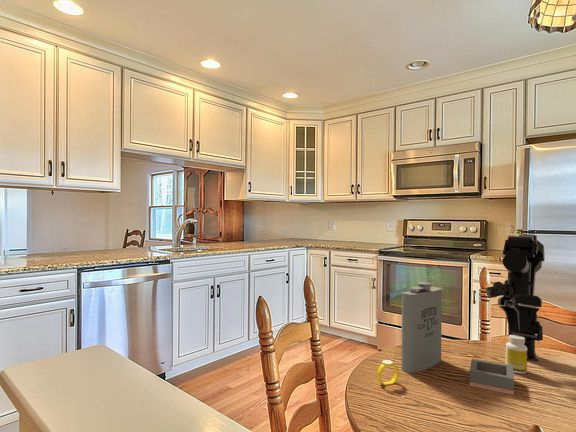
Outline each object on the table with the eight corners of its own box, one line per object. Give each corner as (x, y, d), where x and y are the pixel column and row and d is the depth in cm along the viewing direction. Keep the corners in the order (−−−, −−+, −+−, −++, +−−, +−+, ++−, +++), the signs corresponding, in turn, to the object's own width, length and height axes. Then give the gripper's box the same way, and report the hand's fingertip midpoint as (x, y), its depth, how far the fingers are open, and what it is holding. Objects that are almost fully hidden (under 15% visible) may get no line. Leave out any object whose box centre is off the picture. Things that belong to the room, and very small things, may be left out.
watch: (381, 388, 95) (380, 366, 95) (375, 384, 98) (374, 362, 98) (400, 383, 97) (399, 361, 97) (394, 379, 100) (393, 357, 100)
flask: (413, 375, 103) (413, 286, 103) (399, 369, 106) (399, 284, 107) (445, 361, 113) (446, 280, 114) (432, 356, 117) (432, 278, 117)
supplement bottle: (530, 375, 103) (531, 340, 103) (509, 373, 105) (510, 338, 105) (521, 367, 109) (522, 334, 109) (501, 365, 110) (503, 333, 110)
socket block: (471, 372, 105) (471, 358, 105) (512, 380, 100) (512, 365, 100) (469, 385, 96) (469, 370, 97) (514, 395, 92) (514, 379, 92)
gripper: (481, 276, 119) (478, 325, 116) (497, 269, 102) (493, 327, 98) (520, 282, 116) (518, 332, 112) (543, 276, 98) (541, 335, 95)
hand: (516, 331), depth 105 cm, fingers open, 9 cm apart
